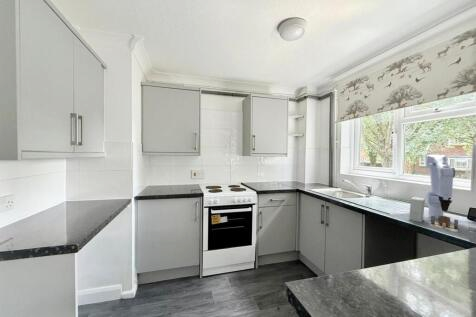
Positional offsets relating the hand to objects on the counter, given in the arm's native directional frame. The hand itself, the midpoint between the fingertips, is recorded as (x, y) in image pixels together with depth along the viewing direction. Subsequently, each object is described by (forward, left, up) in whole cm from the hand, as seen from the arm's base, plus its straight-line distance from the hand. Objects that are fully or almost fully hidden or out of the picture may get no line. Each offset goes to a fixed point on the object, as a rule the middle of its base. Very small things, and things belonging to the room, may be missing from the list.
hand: (444, 209), depth 123 cm
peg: (+9, 0, -9) cm, 13 cm away
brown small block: (-1, 0, -9) cm, 9 cm away
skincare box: (+1, -12, -10) cm, 16 cm away
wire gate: (+4, 0, -9) cm, 10 cm away
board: (+4, 0, -10) cm, 11 cm away
